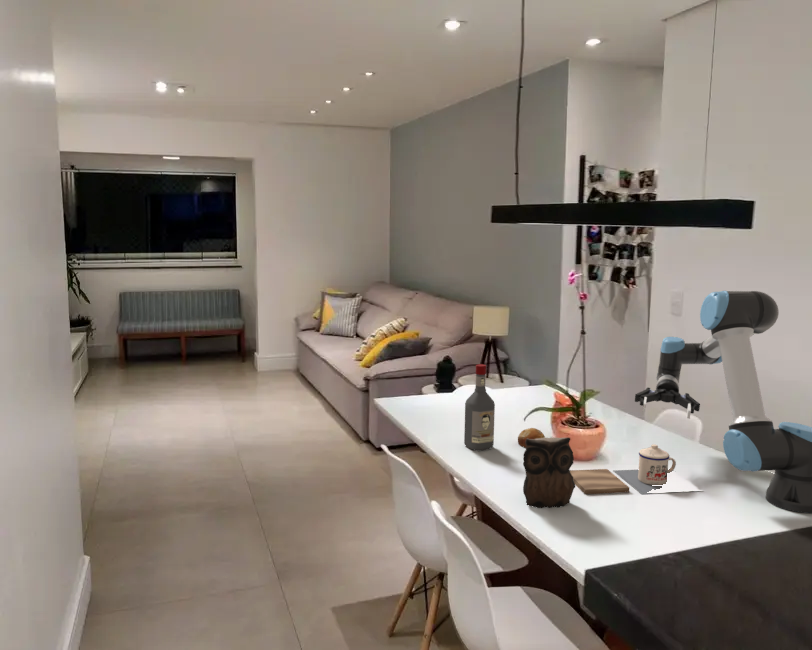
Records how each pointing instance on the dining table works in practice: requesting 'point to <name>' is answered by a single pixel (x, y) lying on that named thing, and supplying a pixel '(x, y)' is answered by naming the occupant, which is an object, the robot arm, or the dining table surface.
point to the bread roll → (529, 435)
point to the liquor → (479, 415)
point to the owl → (548, 472)
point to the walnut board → (598, 481)
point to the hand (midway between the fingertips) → (666, 411)
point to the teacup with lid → (654, 465)
